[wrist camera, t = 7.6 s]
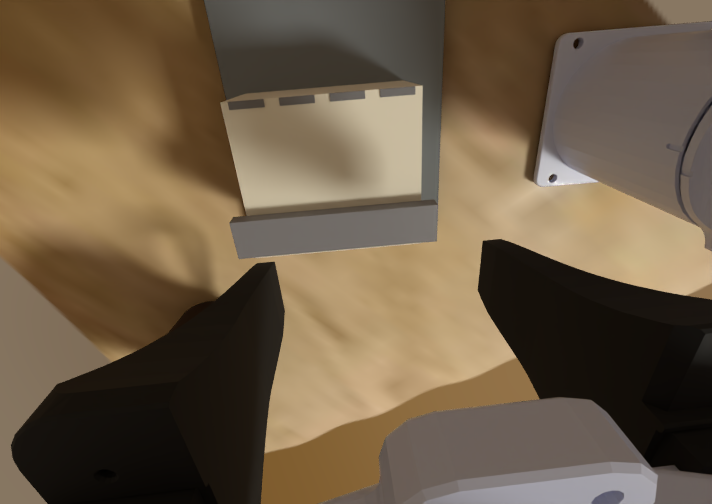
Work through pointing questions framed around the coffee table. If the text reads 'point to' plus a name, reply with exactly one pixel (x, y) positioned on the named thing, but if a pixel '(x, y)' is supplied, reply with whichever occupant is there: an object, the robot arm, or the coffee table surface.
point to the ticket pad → (329, 169)
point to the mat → (335, 52)
